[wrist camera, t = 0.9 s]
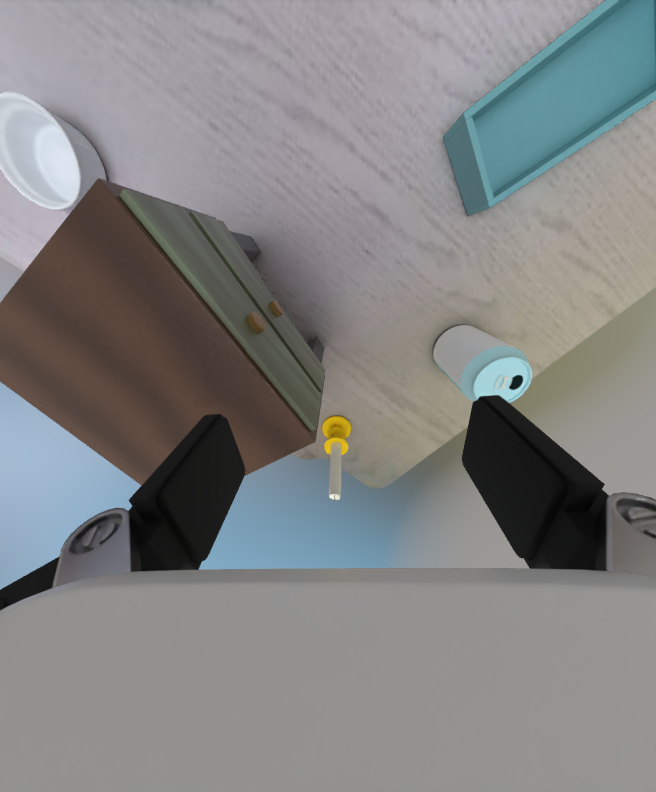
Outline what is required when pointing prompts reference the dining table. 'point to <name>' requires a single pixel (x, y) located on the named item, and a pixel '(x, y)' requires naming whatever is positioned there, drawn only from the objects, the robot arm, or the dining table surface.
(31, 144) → the ramekin
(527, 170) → the storage box
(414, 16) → the dining table surface
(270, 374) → the drawer chest
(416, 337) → the dining table surface
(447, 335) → the can
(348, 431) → the candle
